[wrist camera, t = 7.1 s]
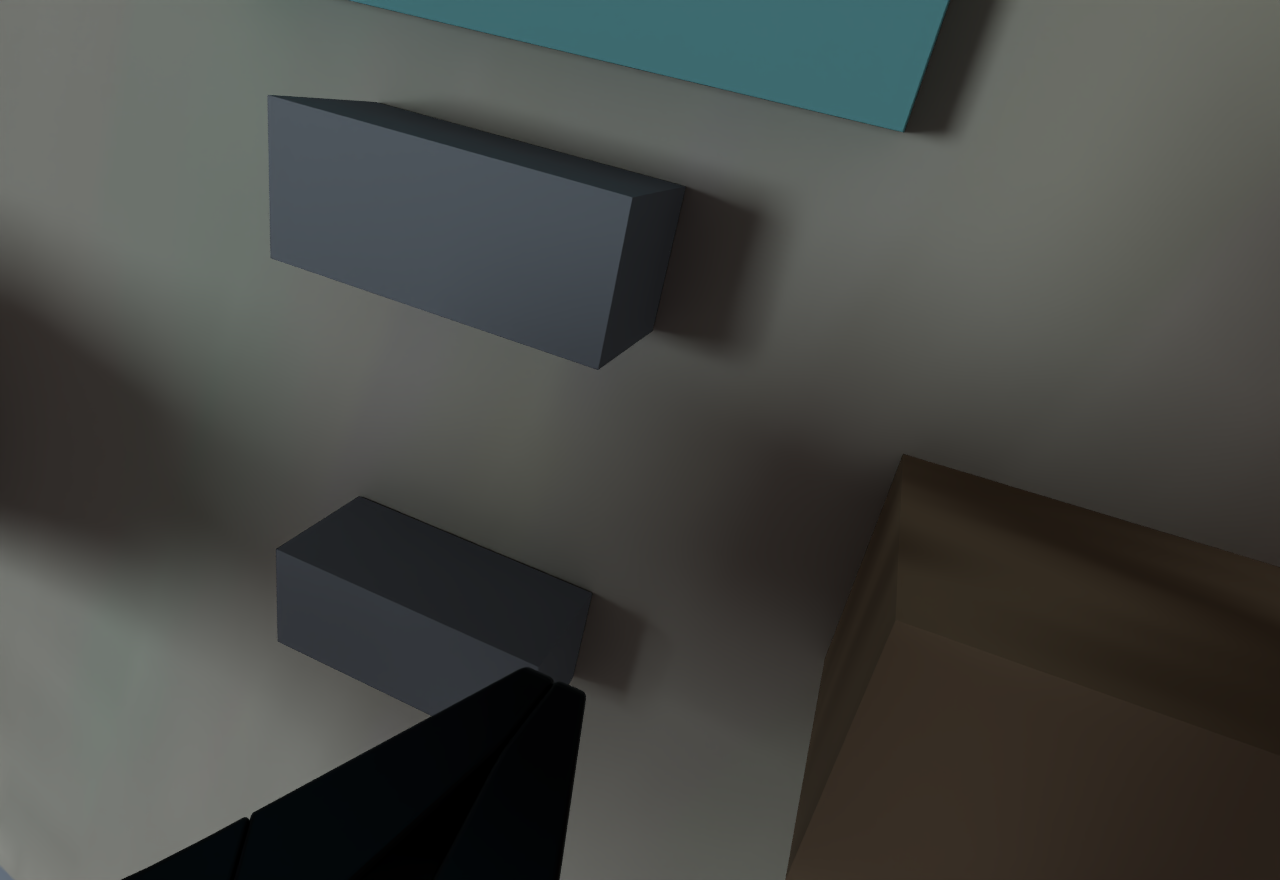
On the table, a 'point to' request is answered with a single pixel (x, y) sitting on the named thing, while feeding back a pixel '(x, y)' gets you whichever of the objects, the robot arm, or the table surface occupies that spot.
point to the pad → (734, 44)
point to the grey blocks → (475, 296)
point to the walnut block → (1042, 699)
